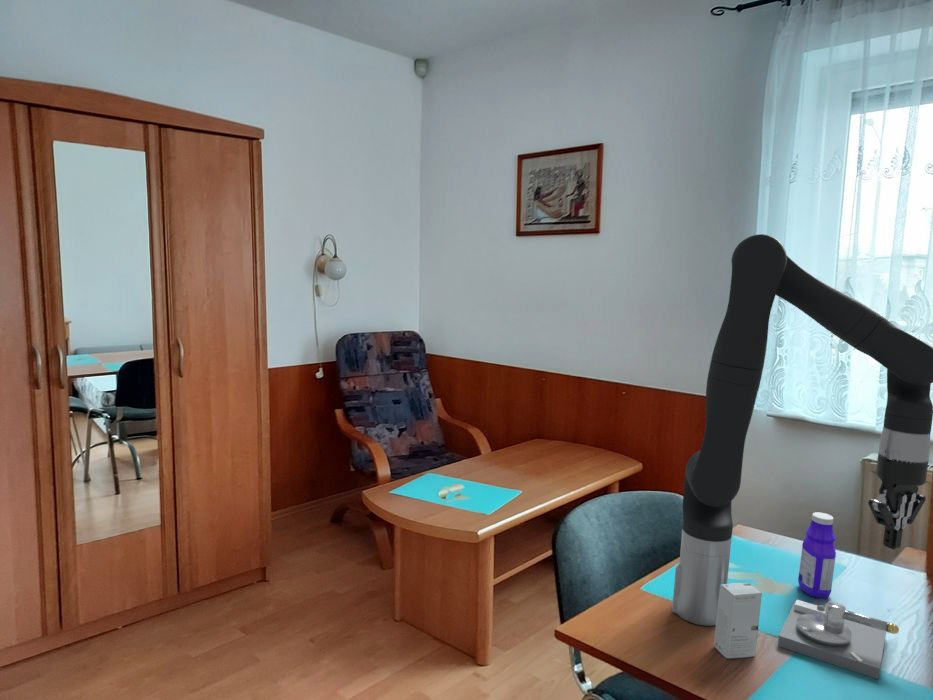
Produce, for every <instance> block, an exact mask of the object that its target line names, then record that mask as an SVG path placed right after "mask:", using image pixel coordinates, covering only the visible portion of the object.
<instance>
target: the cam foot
mask: <svg viewBox="0 0 933 700" xmlns="http://www.w3.org/2000/svg"><path fill="white" fill-rule="evenodd" d="M824 608H825V616H823V615H818V614H804V615H801V616H799V617H798V618H797V629H798V631H799V632H800V633H801V634H802V635H804V636H805V637H807V638H809V639H810V640H813V641H815V642H818V643H821V644H824V645H829V646H845V645H848V644H849V643H850V642H851V635H852V633H851V630H850V629H849V628H848V627H847V626H846V625H844V619H846V620H849V621H853V622H856V623H860V624H863V625H866V626H870V627H873V628H876V629H880V630H883V631H886V633H888V634H893V635H897V634H898V633H899V632H900V628H899V626H898V625H897V624H895V623H892V622H888V621H884V620H882V619H881V620H880V619H878V618H874V617H870V616H867V615H864V614H860V613H858V612H854V611H851V610H846V609H847V607H846V606H845V605H843V604H842V603H840V602H836V601H827V602H826V603H825V607H824Z"/></svg>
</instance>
